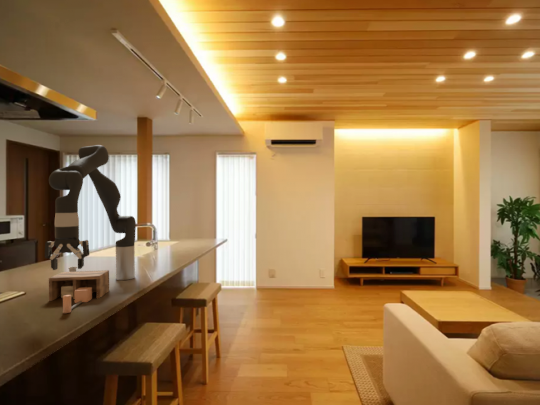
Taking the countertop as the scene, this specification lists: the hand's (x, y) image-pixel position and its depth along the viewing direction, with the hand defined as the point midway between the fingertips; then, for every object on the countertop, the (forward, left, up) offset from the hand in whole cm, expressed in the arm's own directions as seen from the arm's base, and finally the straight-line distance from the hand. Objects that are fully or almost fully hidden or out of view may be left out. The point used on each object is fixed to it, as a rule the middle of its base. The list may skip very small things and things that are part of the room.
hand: (67, 269), depth 120 cm
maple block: (-23, -9, -16) cm, 30 cm away
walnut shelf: (-23, -5, -16) cm, 28 cm away
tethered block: (-7, 0, -16) cm, 17 cm away
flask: (-37, -14, -16) cm, 43 cm away
